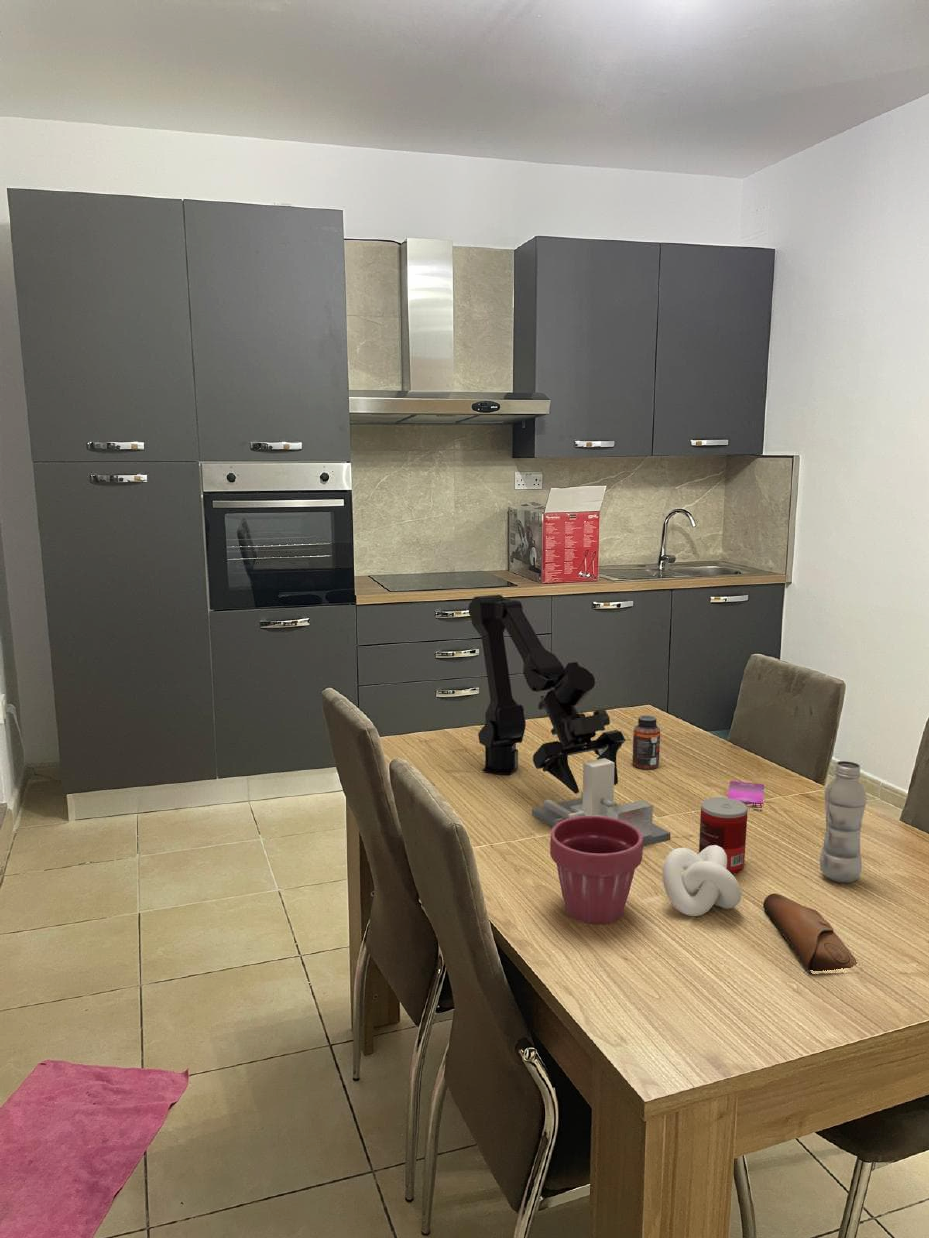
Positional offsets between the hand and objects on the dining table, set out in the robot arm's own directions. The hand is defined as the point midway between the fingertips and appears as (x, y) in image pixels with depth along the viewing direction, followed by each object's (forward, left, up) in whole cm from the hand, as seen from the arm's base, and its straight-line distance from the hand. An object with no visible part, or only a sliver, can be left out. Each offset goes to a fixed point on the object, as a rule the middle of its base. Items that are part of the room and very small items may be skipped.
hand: (597, 788), depth 174 cm
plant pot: (+7, -32, -8) cm, 34 cm away
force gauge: (-1, -2, -6) cm, 6 cm away
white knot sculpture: (+23, -25, -8) cm, 35 cm away
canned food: (+24, -9, -8) cm, 27 cm away
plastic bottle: (+43, -7, -8) cm, 44 cm away
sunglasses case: (+39, -30, -8) cm, 50 cm away
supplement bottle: (+3, +37, -8) cm, 38 cm away
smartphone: (+26, +26, -8) cm, 37 cm away
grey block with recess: (+7, -6, -6) cm, 11 cm away
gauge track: (+1, -1, -7) cm, 7 cm away
